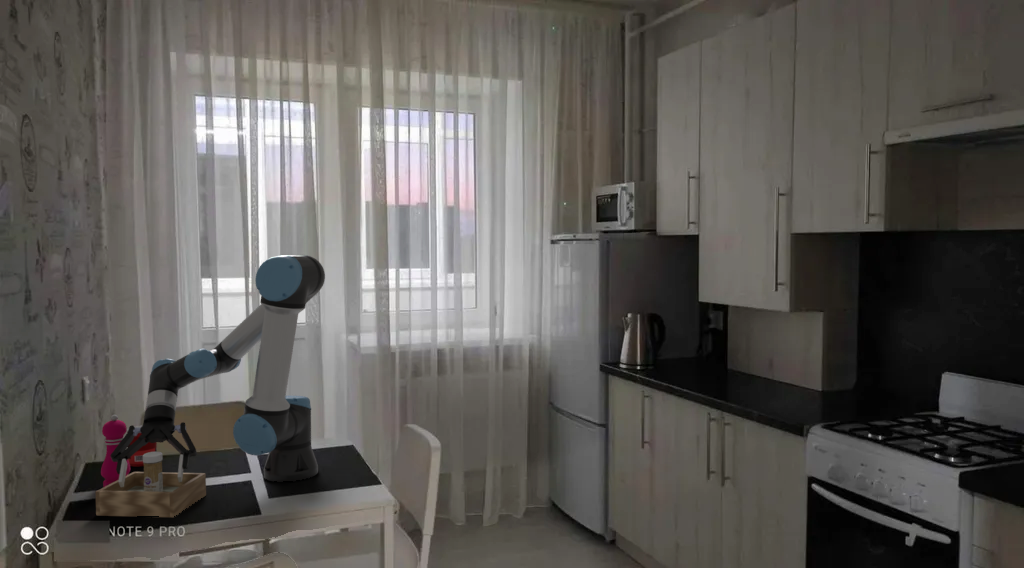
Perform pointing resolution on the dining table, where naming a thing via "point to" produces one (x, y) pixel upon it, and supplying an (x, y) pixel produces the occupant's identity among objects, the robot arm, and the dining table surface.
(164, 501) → the bore box
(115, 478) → the pepper mill
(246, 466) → the dining table surface
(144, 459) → the sprinkles bottle
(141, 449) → the canned food
